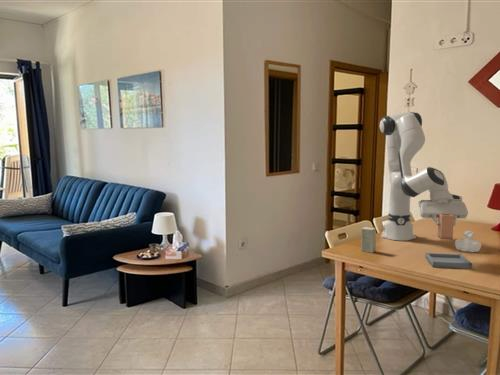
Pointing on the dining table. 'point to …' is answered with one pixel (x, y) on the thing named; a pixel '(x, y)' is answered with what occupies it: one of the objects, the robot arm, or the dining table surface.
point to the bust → (468, 243)
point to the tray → (448, 260)
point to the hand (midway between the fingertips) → (446, 224)
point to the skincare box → (368, 239)
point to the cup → (446, 226)
